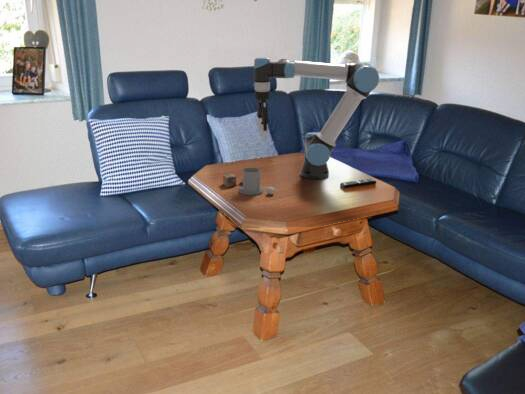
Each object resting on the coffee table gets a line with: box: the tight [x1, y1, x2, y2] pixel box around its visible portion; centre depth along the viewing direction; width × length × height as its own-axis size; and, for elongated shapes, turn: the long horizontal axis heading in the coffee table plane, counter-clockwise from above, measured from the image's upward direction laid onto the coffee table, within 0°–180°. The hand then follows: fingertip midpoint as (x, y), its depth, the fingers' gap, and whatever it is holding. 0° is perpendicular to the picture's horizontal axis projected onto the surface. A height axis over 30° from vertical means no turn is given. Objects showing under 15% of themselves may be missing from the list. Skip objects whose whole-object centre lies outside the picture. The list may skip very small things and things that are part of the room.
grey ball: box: [266, 186, 275, 196], centre depth 245 cm, size 4×4×4 cm
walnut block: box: [222, 173, 237, 188], centre depth 257 cm, size 5×5×5 cm
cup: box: [242, 167, 261, 192], centre depth 247 cm, size 8×8×10 cm
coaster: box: [238, 186, 264, 196], centre depth 249 cm, size 12×12×1 cm
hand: (262, 133), depth 255 cm, fingers open, 13 cm apart
